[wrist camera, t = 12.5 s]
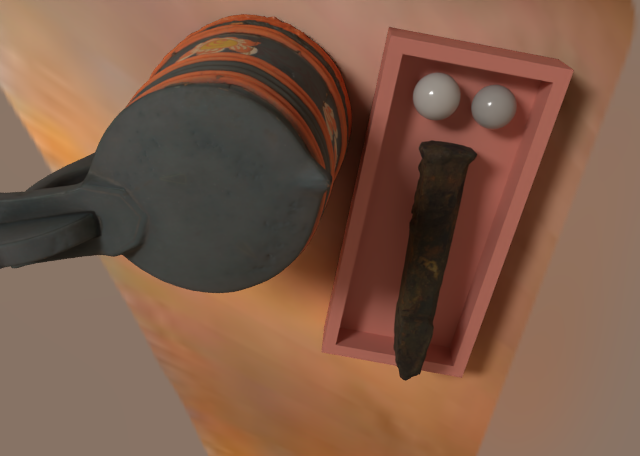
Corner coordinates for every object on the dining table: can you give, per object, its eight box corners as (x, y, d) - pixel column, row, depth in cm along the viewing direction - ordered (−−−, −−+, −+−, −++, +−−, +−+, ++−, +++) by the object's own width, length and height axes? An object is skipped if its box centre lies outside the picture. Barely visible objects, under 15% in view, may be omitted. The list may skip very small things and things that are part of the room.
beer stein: (146, 230, 50) (26, 398, 32) (74, 56, 44) (-125, 145, 26) (369, 185, 47) (371, 344, 29) (325, -10, 41) (293, 41, 23)
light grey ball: (417, 63, 41) (421, 74, 39) (462, 72, 42) (469, 83, 39) (406, 108, 43) (409, 121, 40) (450, 116, 43) (456, 130, 40)
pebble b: (475, 76, 42) (482, 86, 39) (517, 84, 42) (527, 95, 39) (463, 117, 43) (469, 130, 40) (503, 125, 43) (512, 138, 40)
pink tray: (389, 27, 41) (390, 35, 38) (558, 59, 42) (573, 70, 39) (324, 327, 53) (321, 352, 50) (456, 351, 53) (462, 377, 50)
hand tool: (418, 132, 44) (425, 145, 39) (472, 142, 44) (485, 156, 39) (367, 355, 50) (368, 387, 46) (414, 363, 50) (420, 396, 46)
